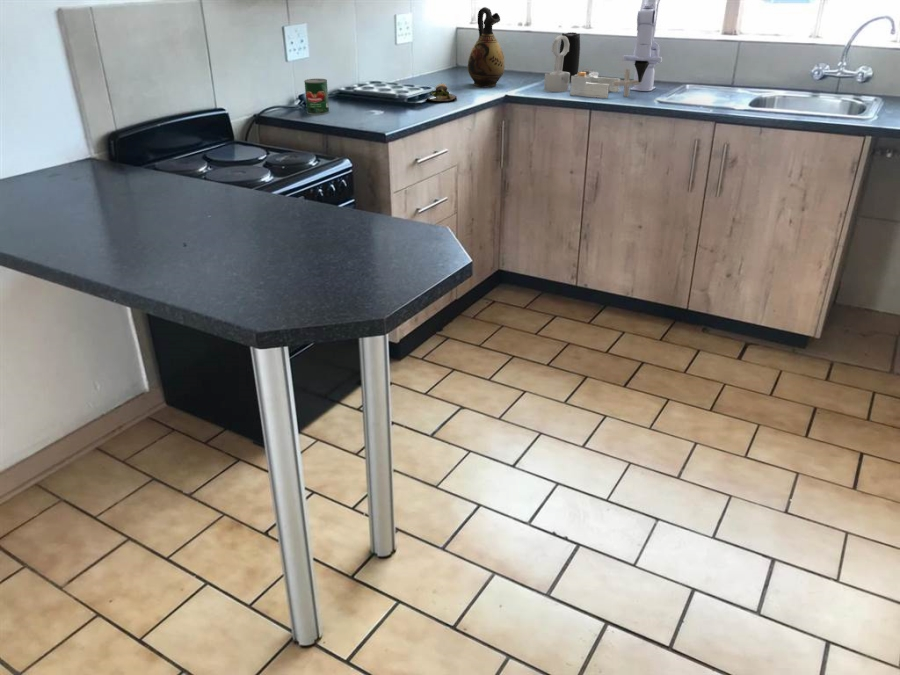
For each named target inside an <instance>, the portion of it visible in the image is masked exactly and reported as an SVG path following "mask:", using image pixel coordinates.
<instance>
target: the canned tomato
mask: <svg viewBox="0 0 900 675" xmlns="http://www.w3.org/2000/svg"><path fill="white" fill-rule="evenodd" d="M303 82H304V91H305V102H306V113H307V115H315V116H317V115H318V116H319V115H326V114H329V113H330V104H329V91H328V80H327V79H325V78H309V79H305V80H304V81H303Z"/></svg>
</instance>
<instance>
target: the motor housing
mask: <svg viewBox="0 0 900 675" xmlns="http://www.w3.org/2000/svg"><path fill="white" fill-rule="evenodd" d="M614 81H621V78H617V77H616V78H615V77H604V76H603V77H602V76H601V77H600V76H599V71H594V69H588V68H587V69H584V70H582V71H578V74H576V75H573V76H571V80H570V87H569V90H570V92H569V95H570V96H577V97H579V96H581V97H587V98H596V97H597V98H598V99H608V97H609V92H610V93H611V92H612V93H619V92H620V86H621V85H620V86H614Z"/></svg>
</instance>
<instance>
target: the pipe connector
mask: <svg viewBox="0 0 900 675" xmlns="http://www.w3.org/2000/svg"><path fill="white" fill-rule="evenodd" d="M630 74H631V69H630V68H625V69H624V80H623V79H621V80H620V81H614V86H624V89H623V97H629V96H630V86H634V85H640V82H638V80H634V79H630Z"/></svg>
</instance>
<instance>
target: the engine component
mask: <svg viewBox="0 0 900 675" xmlns="http://www.w3.org/2000/svg"><path fill="white" fill-rule="evenodd" d="M561 39H563V41H564V49H563V51H562V52H561V53H560V51H559V49H558V47H559V43H560V42H561ZM569 45H570V43H569V40H568V38H567V37H566V36H562V34H560V35H558V36H556V37H555V39H554V41H553V42H552V45H551V52H552V53H553V56H555V61H554V69H553V71H552V72H550V73H544V87H543V88H544V89H543V90H544V91H545V92H552V93H553V92H556V93H559V92H560V93H562V92H563V93H564V92H567V91H569V90H570V83H571V80H570V73H569V72H563V71H562V68H563V59H564V56H565V55H566V54H567V52H569Z"/></svg>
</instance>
